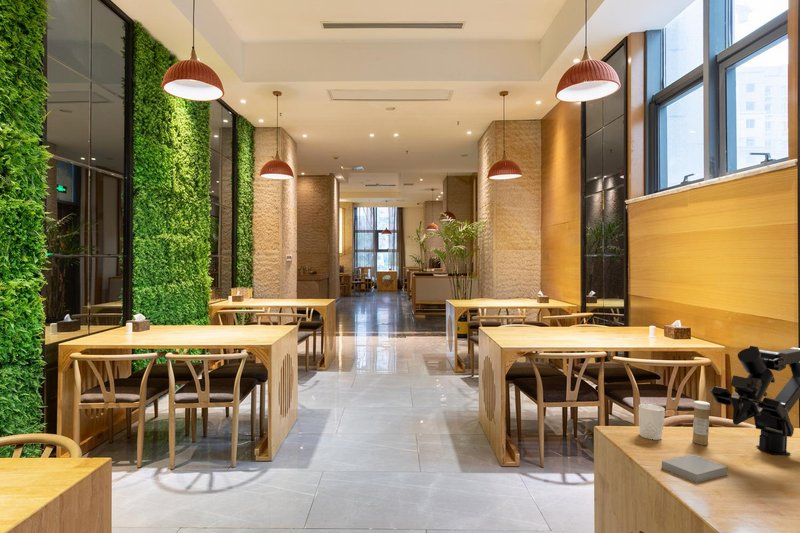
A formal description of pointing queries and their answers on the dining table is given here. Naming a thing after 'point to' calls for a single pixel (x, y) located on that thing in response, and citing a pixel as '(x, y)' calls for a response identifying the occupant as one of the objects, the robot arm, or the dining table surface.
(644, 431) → the white cup
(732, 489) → the dining table surface
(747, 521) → the dining table surface
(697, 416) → the sprinkles bottle
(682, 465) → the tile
